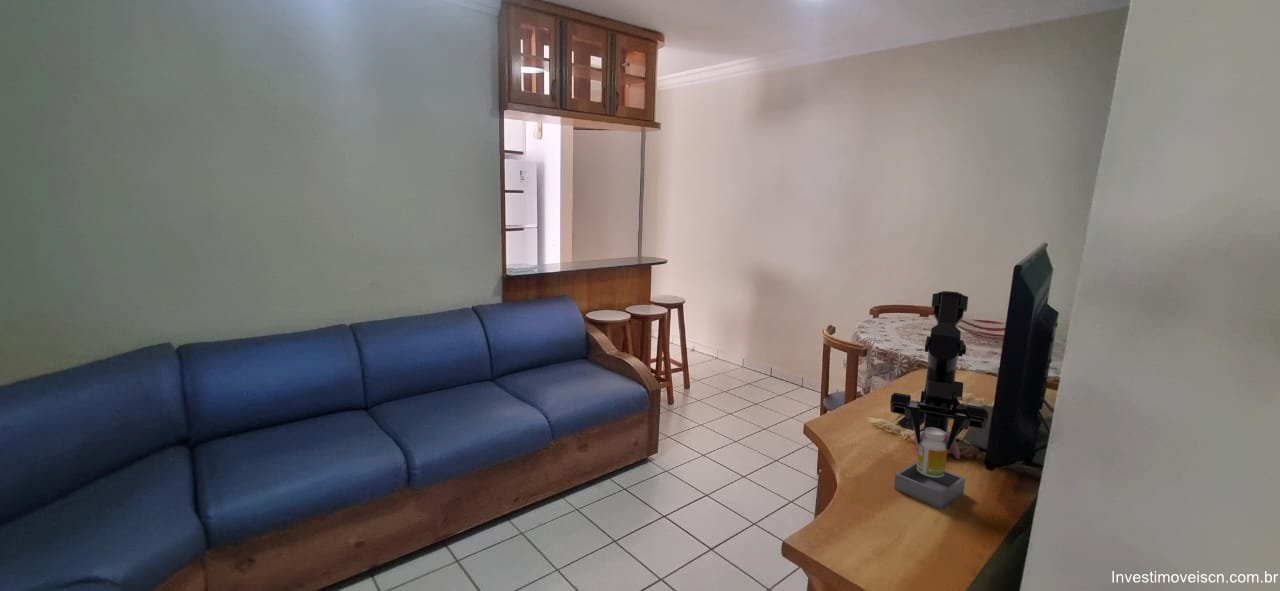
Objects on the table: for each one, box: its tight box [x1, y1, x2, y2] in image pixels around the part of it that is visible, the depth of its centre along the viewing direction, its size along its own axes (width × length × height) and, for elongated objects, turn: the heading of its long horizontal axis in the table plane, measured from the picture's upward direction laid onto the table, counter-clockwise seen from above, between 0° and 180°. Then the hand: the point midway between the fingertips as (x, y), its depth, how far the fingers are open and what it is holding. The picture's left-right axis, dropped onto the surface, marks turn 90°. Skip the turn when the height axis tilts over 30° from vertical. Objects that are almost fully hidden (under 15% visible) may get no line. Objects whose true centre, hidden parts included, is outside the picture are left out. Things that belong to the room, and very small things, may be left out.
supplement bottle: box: [916, 427, 948, 478], centre depth 118 cm, size 5×5×10 cm
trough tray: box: [893, 460, 966, 510], centre depth 119 cm, size 10×10×4 cm
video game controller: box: [913, 431, 961, 460], centre depth 136 cm, size 10×5×7 cm, turn 85°
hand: (933, 446), depth 116 cm, fingers closed on supplement bottle, 5 cm apart
